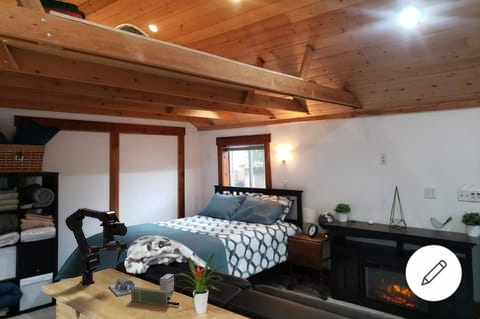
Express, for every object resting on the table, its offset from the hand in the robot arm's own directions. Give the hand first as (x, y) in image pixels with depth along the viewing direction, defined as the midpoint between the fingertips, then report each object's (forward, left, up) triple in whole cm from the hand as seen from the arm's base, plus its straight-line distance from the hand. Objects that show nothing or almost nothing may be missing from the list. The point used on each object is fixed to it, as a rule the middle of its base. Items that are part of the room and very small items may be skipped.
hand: (108, 263), depth 188 cm
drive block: (+10, +6, -11) cm, 16 cm away
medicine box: (+28, +22, -12) cm, 38 cm away
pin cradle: (+10, +6, -12) cm, 17 cm away
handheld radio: (+37, +12, -12) cm, 41 cm away
